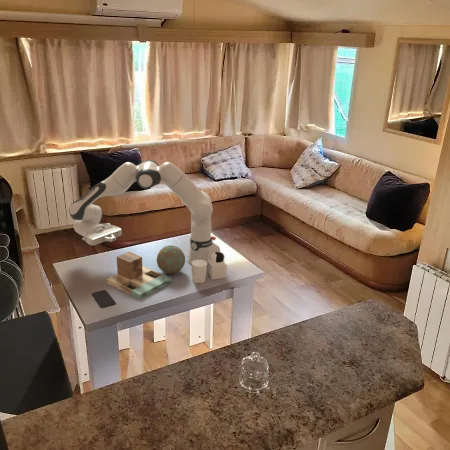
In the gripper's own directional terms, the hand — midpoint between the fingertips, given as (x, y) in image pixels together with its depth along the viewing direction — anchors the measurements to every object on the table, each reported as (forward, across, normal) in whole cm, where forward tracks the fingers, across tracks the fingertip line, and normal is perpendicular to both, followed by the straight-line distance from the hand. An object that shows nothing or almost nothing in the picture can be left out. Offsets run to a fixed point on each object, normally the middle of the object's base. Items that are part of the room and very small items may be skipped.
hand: (113, 239), depth 240 cm
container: (+43, +32, +18) cm, 57 cm away
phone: (+17, -22, +19) cm, 34 cm away
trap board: (+18, 0, +19) cm, 26 cm away
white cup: (+39, +22, +19) cm, 49 cm away
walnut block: (+11, 0, +16) cm, 20 cm away
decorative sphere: (+22, +19, +19) cm, 35 cm away
